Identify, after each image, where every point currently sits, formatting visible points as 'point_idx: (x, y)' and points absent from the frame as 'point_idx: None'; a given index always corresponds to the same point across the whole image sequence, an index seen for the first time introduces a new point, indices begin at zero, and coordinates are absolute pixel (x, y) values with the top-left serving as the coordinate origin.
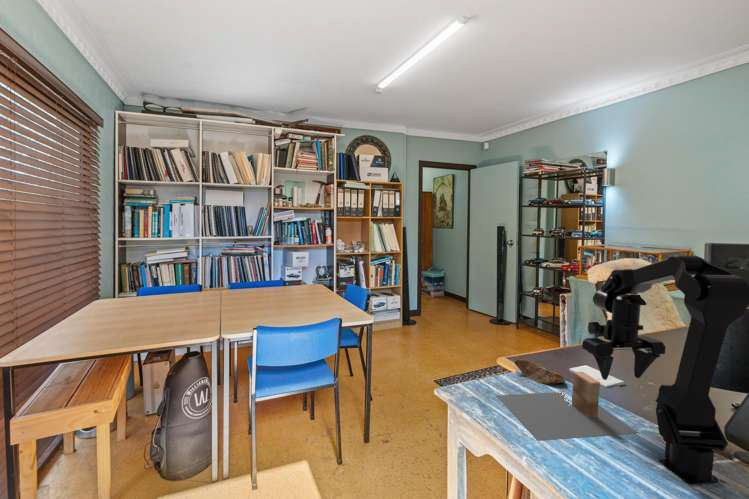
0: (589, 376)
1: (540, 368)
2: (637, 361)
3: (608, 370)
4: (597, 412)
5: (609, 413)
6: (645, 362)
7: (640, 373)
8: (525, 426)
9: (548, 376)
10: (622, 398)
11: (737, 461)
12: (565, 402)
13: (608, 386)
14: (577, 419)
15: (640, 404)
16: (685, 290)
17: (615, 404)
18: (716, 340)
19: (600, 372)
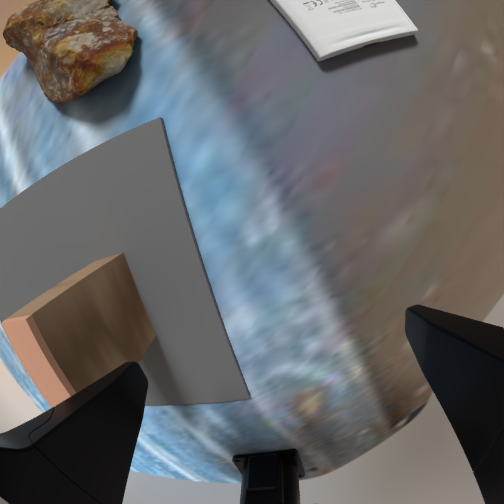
0: (56, 378)
1: (40, 43)
2: (488, 392)
3: (122, 459)
4: (149, 344)
5: (209, 308)
6: (474, 459)
7: (425, 374)
8: None
9: (56, 77)
10: (349, 149)
11: (397, 428)
12: (80, 244)
13: (334, 53)
14: None
15: (394, 199)
16: None
17: (284, 212)
18: None
19: (99, 380)
